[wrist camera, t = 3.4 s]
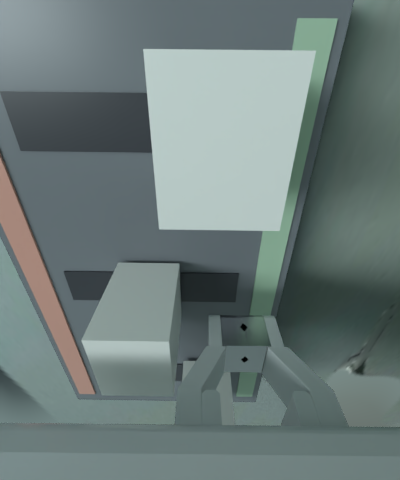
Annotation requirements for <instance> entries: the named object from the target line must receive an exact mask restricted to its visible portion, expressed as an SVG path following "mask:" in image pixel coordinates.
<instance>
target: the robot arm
mask: <svg viewBox="0 0 400 480" xmlns="http://www.w3.org/2000/svg"><path fill="white" fill-rule="evenodd" d="M224 372H256V373H262V375H263V376H264V377H265V379H266V380H267V381H268V383H269V384H270V385H271V387H272V388H273V389H274V391H275V392H276V393H277V395H278V396H279V398H280V399H281V400H282V402H283V403H284V404H285V406H286V407H287V410H286V413H285V415H284V418H283V421H282V423H281V426H249V425H222V417H221V402H220V393H219V392H218V391H217V390H216V388H217V386H218V384H219V382H220V380H221V378H222V376H223V374H224ZM0 480H400V427H349V426H348V423H347V421H346V418H345V416H344V414H343V412H342V409H341V407H340V404H339V402H338V400H337V397H336V395H335V393H334V391H333V389H331V388H330V387H329V386H328V385H327V384H326V383H325V382H324V381H323V380H322V379H321V378H320V377H319V376H318V375H317V374H316V373H315V372H314V371H313V370H312V369H310V368H309V367H308V366H307V365H306V364H305V363H304V362H303V361H302V360H301V359H300V358H299V357H298V356H297V355H296V354H295V353H294V352H293V351H292V350H291V349H289V348H288V347H284V344H283V341H282V337H281V334H280V331H279V328H278V325H277V322H276V319H275V317H274V316H262V315H241V316H233V315H209V319H208V346H206V347H205V349H204V350H203V352H202V353H201V355H200V356H199V358H198V359H197V361H196V362H195V364H194V365H193V366H192V368H191V369H190V371H189V372H188V374H187V375H186V377H185V378H184V380H183V381H182V383H181V384H180V386H179V387H178V390H177V402H176V413H175V425H156V424H63V423H0Z"/></svg>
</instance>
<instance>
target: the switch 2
mask: <svg viewBox="0 0 400 480" xmlns="http://www.w3.org/2000/svg"><path fill="white" fill-rule="evenodd" d="M195 362H196V361H183V375H182V381H183V380H184V378H185V377H186V375H187V374H188V372H189V371H190V369H191V368H192V366H193V365H194V364H195ZM216 390H217V391H218V392H219V393H220V402H221V417H222V425H235V418H234V408H233V397H232V386H231V375H230V372H224V374H223V376H222V378H221V380H220V382H219V384H218V386H217V388H216Z"/></svg>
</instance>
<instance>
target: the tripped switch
mask: <svg viewBox="0 0 400 480" xmlns="http://www.w3.org/2000/svg"><path fill="white" fill-rule="evenodd" d="M181 315H182V314H181V290H180V267H179V263H118V264H117V266H116V268H115V270H114V272H113V275H112V277H111V279H110V281H109V283H108V285H107V287H106V289H105V291H104V294H103V296H102V298H101V300H100V302H99V304H98V306H97V308H96V310H95V313H94V315H93V317H92V319H91V321H90V323H89V325H88V327H87V329H86V332H85V334H84V336H83V338H82V340H81V341H82V344H83V346H84V349H85V352H86V354H87V357H88V359H89V362H90V365H91V367H92V370H93V373H94V375H95V378H96V381H97V383H98V386H99V389H100V391H101V394H102V395H106V396H169V397H174V390H175V379H176V368H177V357H178V347H179V336H180V325H181Z"/></svg>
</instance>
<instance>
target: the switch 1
mask: <svg viewBox="0 0 400 480" xmlns="http://www.w3.org/2000/svg"><path fill="white" fill-rule="evenodd" d="M143 53H144V64H145V76H146V87H147V98H148V110H149V121H150V132H151V144H152V155H153V166H154V178H155V189H156V200H157V212H158V223H159V229H163V230H240V231H280V227H281V222H282V217H283V212H284V207H285V202H286V197H287V192H288V187H289V182H290V177H291V172H292V168H293V163H294V158H295V153H296V148H297V143H298V138H299V133H300V128H301V123H302V118H303V113H304V108H305V103H306V98H307V94H308V89H309V84H310V79H311V74H312V69H313V64H314V59H315V54H316V51H305V50H204V49H143Z"/></svg>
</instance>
